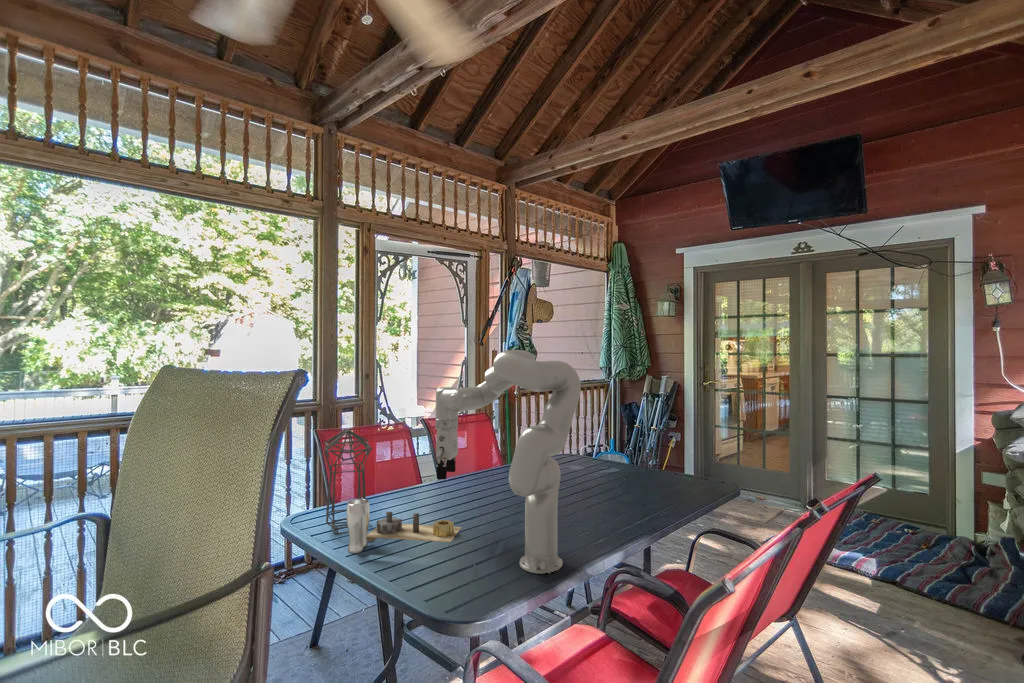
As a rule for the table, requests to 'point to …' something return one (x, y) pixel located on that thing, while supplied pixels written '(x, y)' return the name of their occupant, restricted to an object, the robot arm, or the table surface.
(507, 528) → the table surface
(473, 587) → the table surface
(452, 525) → the brass gear
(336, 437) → the geometric lantern
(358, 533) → the beer glass
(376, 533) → the gear board
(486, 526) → the table surface
